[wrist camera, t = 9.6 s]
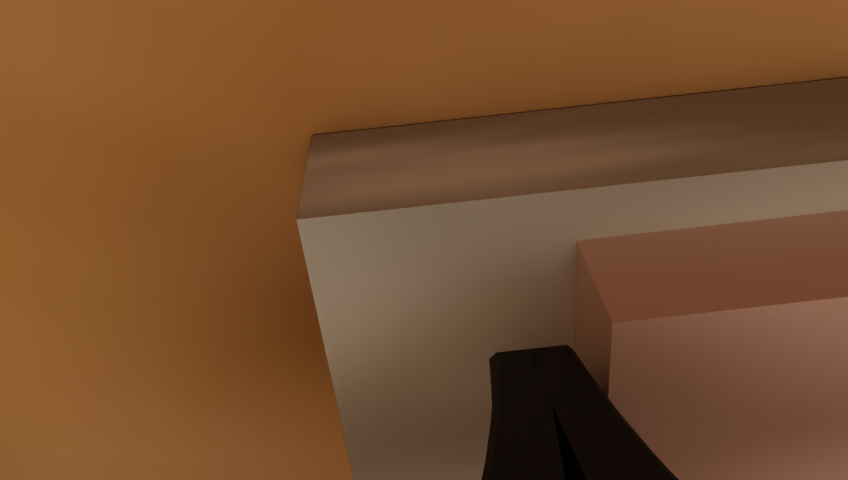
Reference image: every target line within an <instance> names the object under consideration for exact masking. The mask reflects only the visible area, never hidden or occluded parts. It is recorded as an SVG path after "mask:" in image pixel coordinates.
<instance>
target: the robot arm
mask: <svg viewBox="0 0 848 480" xmlns="http://www.w3.org/2000/svg"><path fill="white" fill-rule="evenodd" d="M489 364H490V380H491V396H492V411H491V423H490V430H489V438H488V445H487V452H486V459H485V465H484V470H483V475H482V479H481V480H679V479H678V478H677V477H676V476H675V475H674V474H673V473H672V472H671V471H670V470H669V469H668V468H667V467H666V466H665V465H664V463H663V462H662V461H661V460H660V459H659V458H658V457H657V456H656V455H655V454H654V452H653V451H652V450H651V449H650V448H649V447H648V446H647V444H646V443H645V442H644V441H643V440H642V439H641V437H640V436H639V435H638V434H637V433H636V432H635V430H634V429H633V428H632V427H631V426H630V425H629V423H628V422H627V421H626V420H625V419H624V417H623V416H622V415H621V414H620V412H619V411H618V410H617V409H616V407H615V406H614V405H613V404H612V402H611V401H610V400H609V398H608V397H607V396H606V395H605V393H604V392H603V391H602V389H601V388H600V387H599V385H598V384H597V383H596V381H595V380H594V379H593V377H592V376H591V374H590V373H589V372H588V370H587V369H586V367H585V366H584V364H583V363H582V362H581V360H580V359H579V357H578V356H577V354H576V352H575V351H574V350H573V349H572V348H571V347H569V346H568V345H560V346H551V347H542V348H533V349H524V350H514V351H505V352H496V353H495V354H494V355H493V356H492V357H491V358H490V359H489Z"/></svg>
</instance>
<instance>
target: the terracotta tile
mask: <svg viewBox="0 0 848 480" xmlns="http://www.w3.org/2000/svg"><path fill="white" fill-rule="evenodd" d="M574 351H575V352H576V354H577V356H578V357H579V359H580V360H581V362H582V363H583V364H584V366H585V367H586V369H587V370H588V372H589V373H590V374H591V376H592V377H593V379H594V380H595V381H596V383H597V384H598V385H599V387H600V388H601V389H602V391H603V392H604V393H605V395H606V396H607V397H608V398H609V400H610V401H611V402H612V404H613V405H614V406H615V407H616V409H617V410H618V411H619V412H620V414H621V415H622V416H623V417H624V419H625V420H626V421H627V422H628V423H629V425H630V426H631V427H632V428H633V429H634V430H635V432H636V433H637V434H638V435H639V436H640V437H641V439H642V440H643V441H644V442H645V443H646V444H647V446H648V447H649V448H650V449H651V450H652V451H653V452H654V454H655V455H656V456H657V457H658V458H659V459H660V460H661V461H662V462H663V463H664V465H665V466H666V467H667V468H668V469H669V470H670V471H671V472H672V473H673V474H674V475H675V476H676V477H677V478H678V479H679V480H848V210H846V211H837V212H828V213H819V214H810V215H802V216H793V217H784V218H775V219H766V220H758V221H749V222H740V223H731V224H722V225H714V226H705V227H696V228H687V229H678V230H670V231H661V232H652V233H643V234H634V235H626V236H617V237H608V238H599V239H590V240H582V241H577V248H576V298H575V347H574Z"/></svg>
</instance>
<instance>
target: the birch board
mask: <svg viewBox="0 0 848 480" xmlns="http://www.w3.org/2000/svg"><path fill="white" fill-rule="evenodd" d="M846 210H848V77H847V78H838V79H829V80H820V81H810V82H801V83H792V84H783V85H773V86H764V87H755V88H746V89H737V90H727V91H718V92H709V93H700V94H690V95H681V96H672V97H663V98H654V99H644V100H635V101H626V102H617V103H607V104H598V105H589V106H580V107H571V108H561V109H552V110H543V111H534V112H524V113H515V114H506V115H497V116H488V117H478V118H469V119H460V120H451V121H441V122H432V123H423V124H414V125H405V126H395V127H386V128H377V129H368V130H358V131H349V132H340V133H331V134H322V135H312V137H311V142H310V148H309V153H308V158H307V164H306V169H305V175H304V180H303V186H302V191H301V197H300V202H299V208H298V213H297V218H296V221H297V225H298V230H299V234H300V239H301V243H302V248H303V252H304V257H305V261H306V266H307V270H308V275H309V279H310V284H311V289H312V293H313V298H314V302H315V307H316V311H317V316H318V320H319V325H320V329H321V334H322V338H323V343H324V347H325V352H326V356H327V361H328V365H329V370H330V374H331V379H332V384H333V388H334V393H335V397H336V402H337V406H338V411H339V415H340V420H341V424H342V429H343V433H344V438H345V442H346V447H347V451H348V456H349V460H350V465H351V469H352V474H353V479H354V480H481V479H482V475H483V470H484V465H485V459H486V452H487V445H488V438H489V430H490V423H491V411H492V396H491V380H490V364H489V359H490V358H491V357H492V356H493V355H494V354H495V353H496V352H505V351H514V350H524V349H533V348H542V347H551V346H560V345H568V346H569V347H571V348H572V349H573V350H574V347H575V298H576V248H577V241H582V240H590V239H599V238H608V237H617V236H626V235H634V234H643V233H652V232H661V231H670V230H678V229H687V228H696V227H705V226H714V225H722V224H731V223H740V222H749V221H758V220H766V219H775V218H784V217H793V216H802V215H810V214H819V213H828V212H837V211H846Z"/></svg>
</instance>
